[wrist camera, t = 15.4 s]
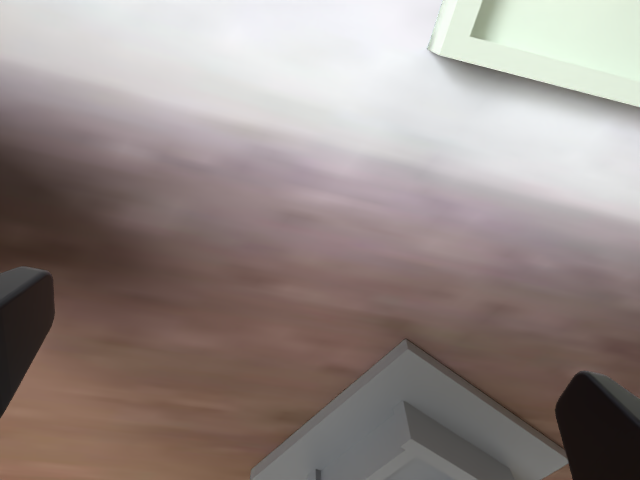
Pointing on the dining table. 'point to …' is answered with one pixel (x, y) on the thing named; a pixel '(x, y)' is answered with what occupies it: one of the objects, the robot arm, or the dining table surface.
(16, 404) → the dining table surface
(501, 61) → the tray
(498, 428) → the grey square socket base
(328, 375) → the dining table surface
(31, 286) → the robot arm
